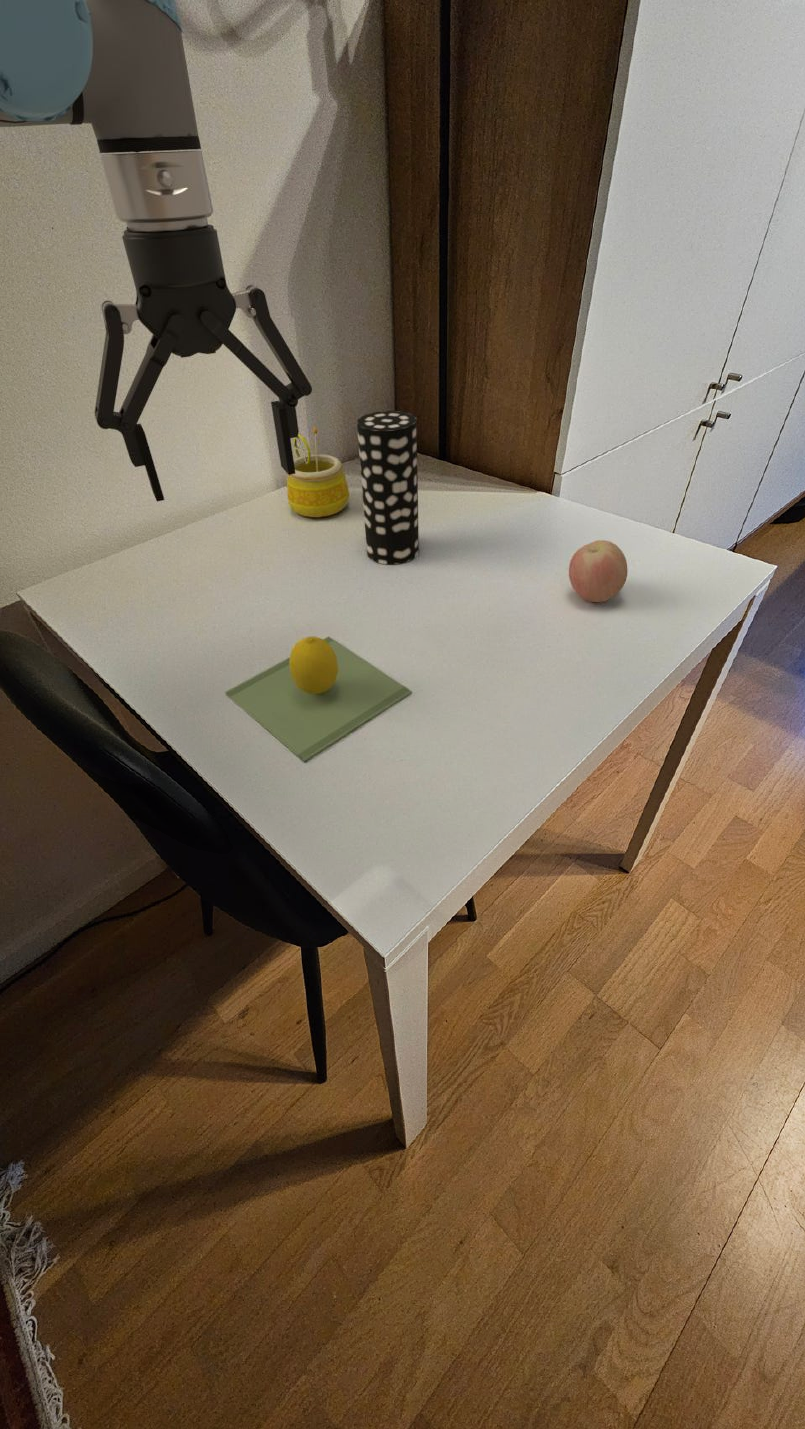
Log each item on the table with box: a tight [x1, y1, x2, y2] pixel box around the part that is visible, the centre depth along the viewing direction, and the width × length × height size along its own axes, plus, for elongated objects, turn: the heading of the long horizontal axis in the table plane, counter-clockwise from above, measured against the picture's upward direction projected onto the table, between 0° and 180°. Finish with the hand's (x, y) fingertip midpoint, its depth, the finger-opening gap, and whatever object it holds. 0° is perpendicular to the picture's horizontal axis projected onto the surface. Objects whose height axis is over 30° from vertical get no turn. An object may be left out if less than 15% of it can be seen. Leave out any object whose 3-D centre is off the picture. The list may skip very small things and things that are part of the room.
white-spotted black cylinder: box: [356, 410, 420, 565], centre depth 94 cm, size 8×8×20 cm
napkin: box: [224, 636, 412, 763], centre depth 76 cm, size 16×16×1 cm
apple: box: [568, 539, 629, 603], centre depth 87 cm, size 8×8×8 cm
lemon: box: [289, 636, 338, 694], centre depth 73 cm, size 6×6×8 cm
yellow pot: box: [286, 427, 350, 518], centre depth 110 cm, size 13×11×12 cm
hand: (225, 483), depth 65 cm, fingers open, 13 cm apart
